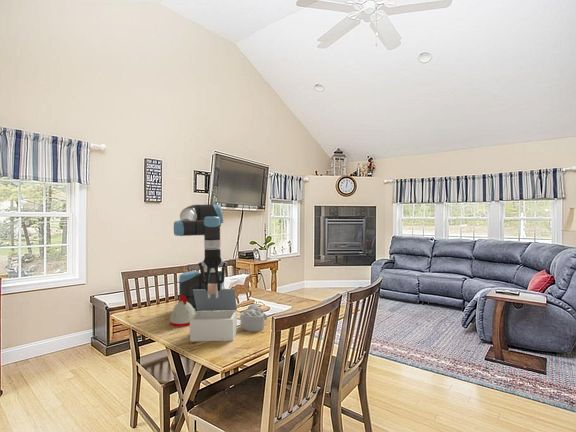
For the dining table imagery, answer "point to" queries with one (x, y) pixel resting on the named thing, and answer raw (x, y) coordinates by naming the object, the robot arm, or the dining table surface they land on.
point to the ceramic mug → (256, 309)
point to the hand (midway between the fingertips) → (213, 297)
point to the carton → (213, 326)
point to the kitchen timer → (182, 313)
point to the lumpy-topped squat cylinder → (252, 320)
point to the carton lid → (215, 299)
